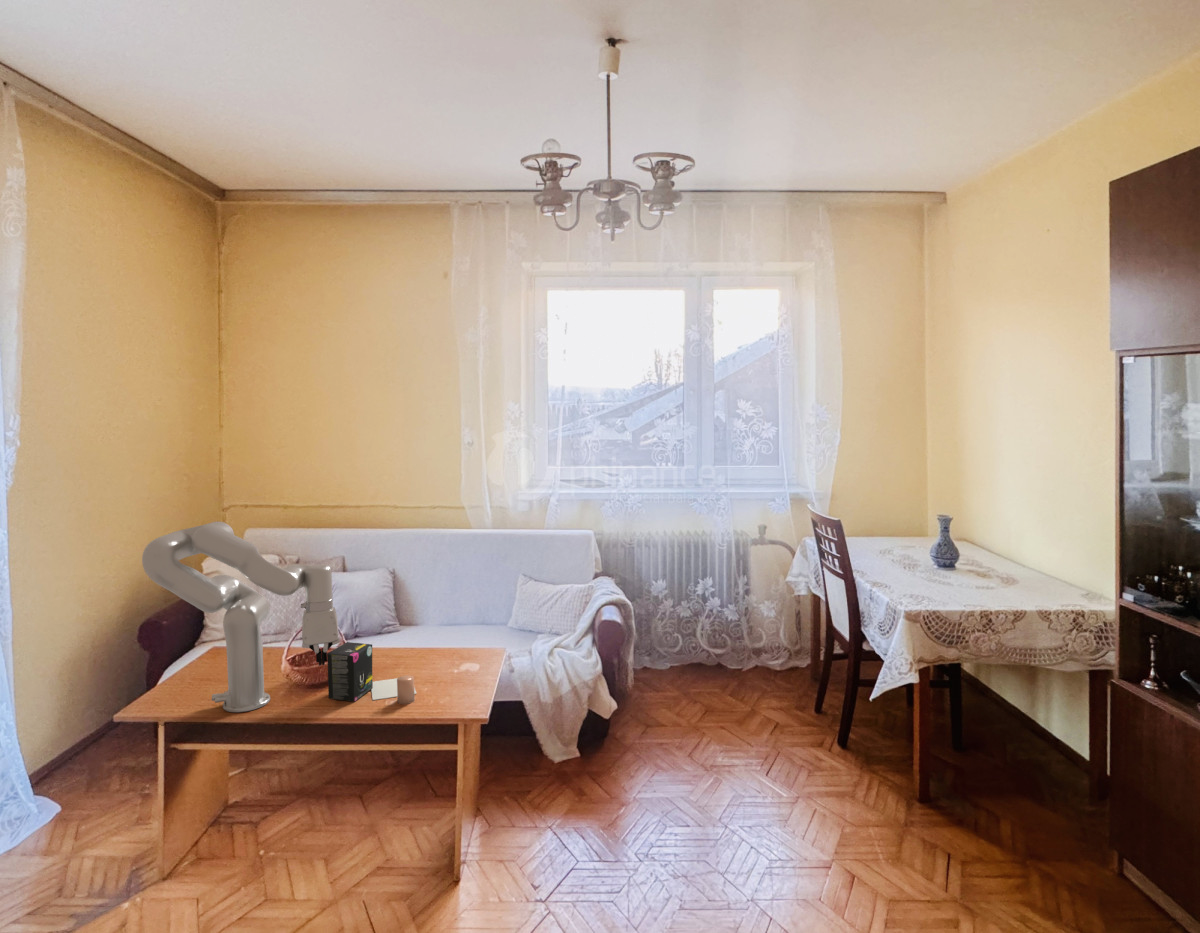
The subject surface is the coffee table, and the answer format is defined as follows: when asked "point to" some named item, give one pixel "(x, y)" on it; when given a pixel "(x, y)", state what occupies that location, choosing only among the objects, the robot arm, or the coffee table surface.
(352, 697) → the tampon box
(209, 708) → the coffee table surface
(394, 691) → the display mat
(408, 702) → the peg
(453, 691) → the coffee table surface
